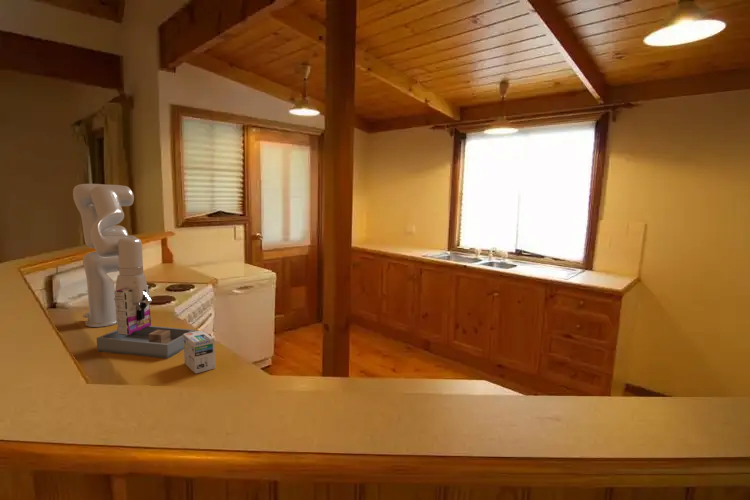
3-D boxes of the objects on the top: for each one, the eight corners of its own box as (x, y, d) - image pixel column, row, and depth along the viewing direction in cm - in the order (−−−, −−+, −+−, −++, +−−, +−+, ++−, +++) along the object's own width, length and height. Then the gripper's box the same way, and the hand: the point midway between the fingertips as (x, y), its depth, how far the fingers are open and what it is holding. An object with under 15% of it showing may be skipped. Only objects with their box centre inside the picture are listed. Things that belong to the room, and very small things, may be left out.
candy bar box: (140, 324, 152) (138, 283, 150) (151, 326, 151) (149, 284, 149) (116, 334, 142) (113, 290, 139) (128, 335, 141) (125, 291, 138)
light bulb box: (215, 368, 130) (215, 337, 129) (195, 374, 126) (194, 342, 124) (203, 358, 138) (202, 329, 136) (183, 363, 133) (182, 333, 132)
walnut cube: (149, 347, 144) (148, 334, 143) (158, 342, 148) (158, 329, 148) (161, 348, 143) (160, 335, 142) (170, 343, 148) (170, 330, 147)
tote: (97, 351, 141) (96, 338, 140) (131, 336, 156) (130, 324, 156) (167, 358, 137) (167, 344, 136) (195, 342, 152) (195, 329, 152)
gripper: (102, 271, 141) (105, 320, 143) (144, 274, 139) (147, 324, 141) (118, 268, 148) (121, 314, 151) (159, 270, 146) (161, 317, 148)
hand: (133, 318), depth 146 cm, fingers closed on candy bar box, 5 cm apart
